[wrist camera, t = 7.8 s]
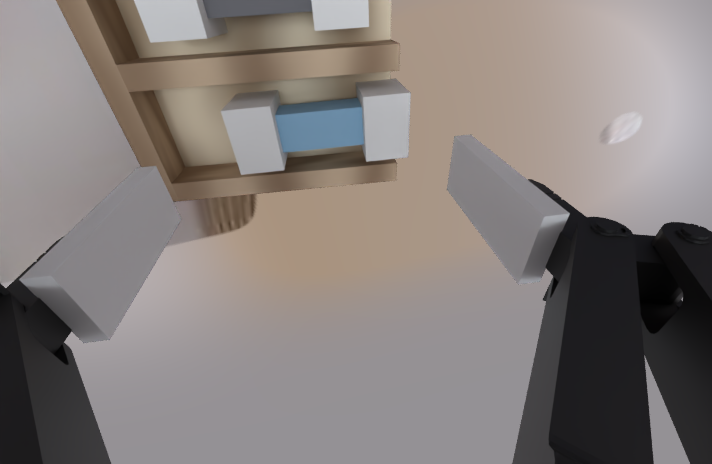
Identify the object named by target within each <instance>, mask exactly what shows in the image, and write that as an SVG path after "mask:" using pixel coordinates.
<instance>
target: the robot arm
mask: <svg viewBox="0 0 712 464" xmlns="http://www.w3.org/2000/svg"><path fill="white" fill-rule="evenodd" d="M447 190H448V191H449V193H450V194H451V196H452V197H453V198H454V200H455V201H456V202H457V204H458V205H459V206H460V208H461V209H462V210H463V212H464V213H465V214H466V216H467V217H468V218H469V220H470V221H471V222H472V224H473V225H474V226H475V227H476V229H477V230H478V232H479V233H480V234H481V236H482V237H483V238H484V240H485V241H486V242H487V244H488V245H489V246H490V247H491V249H492V250H493V252H494V253H495V254H496V256H497V257H498V258H499V260H500V261H501V262H502V264H503V265H504V266H505V268H506V269H507V270H508V272H509V273H510V274H511V275H512V277H513V278H514V280H515V281H516V282H517V284H526V283H533V282H540V280H541V278H542V276H543V274H544V271H545V269H547V270H548V271H549V272H550V273H551V274H552V275H553V279H552V281H551V283H550V285H549V287H548V289H547V291H546V294H545V296H544V298H543V300H544V301H546V305H545V310H544V315H543V319H542V324H541V329H540V334H539V339H538V344H537V348H536V353H535V358H534V363H533V368H532V372H531V377H530V382H529V387H528V391H527V396H526V402H525V406H524V411H523V415H522V420H521V425H520V430H519V435H518V440H517V444H516V449H515V454H514V459H513V463H512V464H654V463H653V451H652V439H651V428H650V416H649V405H648V393H647V382H646V370H645V359H644V355H645V357H646V359H647V362H648V364H649V367H650V369H651V371H652V374H653V376H654V378H655V381H656V383H657V386H658V388H659V390H660V393H661V395H662V397H663V400H664V402H665V405H666V407H667V409H668V412H669V414H670V417H671V419H672V421H673V424H674V426H675V428H676V431H677V433H678V436H679V438H680V440H681V442H682V445H683V447H684V450H685V452H686V455H687V457H688V459H689V462H690V464H712V232H711V231H709V230H707V229H706V228H704V227H701V226H700V227H698V225H694V224H686V223H680V222H671V223H666V224H664V225H663V226H662V227H661V229H660V230H659V232H658V233H657V235H656V236H648V235H636V234H632V232H631V230H629V229H628V228H627V227H626V226H624V225H622V224H620V223H618V222H616V221H613V220H609V219H606V218H600V217H586V216H584V215H583V214H582V213H580V212H579V211H578V210H576V209H575V208H574V207H572V206H571V205H570V204H568V203H567V202H566V201H565V200H561V197H559V196H558V195H557V194H554V193H553V191H551V190H550V189H549V188H547V187H546V186H545V185H543V184H541V183H539V182H536V181H534V180H531V179H528V180H527V179H526V178H525V177H523V176H522V175H521V174H520V173H518V172H517V171H516V170H515V169H513V168H512V167H511V166H510V165H508V164H507V163H506V162H505V161H503V160H502V159H501V158H500V157H498V156H497V155H496V154H494V153H493V152H492V151H491V150H490V149H488V148H487V147H486V146H484V145H483V144H482V143H481V142H479V141H478V140H477V139H476V138H474V137H473V136H472V135H461V136H455V137H454V143H453V150H452V157H451V164H450V172H449V178H448V186H447ZM180 221H181V217H180V215H179V213H178V211H177V208H176V206H175V204H174V202H173V200H172V198H171V196H170V194H169V192H168V190H167V188H166V186H165V184H164V181H163V179H162V177H161V175H160V173H159V171H158V169H157V167H156V166H150V167H139V168H136V169H135V170H134V171H133V172H132V173H131V174H130V175H129V176H128V177H127V178H126V179H125V180H124V181H123V182H122V183H121V184H120V185H118V186H117V187H116V188H115V189H114V190H113V191H112V192H111V193H110V194H109V195H108V196H107V197H106V198H105V199H104V200H103V201H102V202H100V203H99V204H98V205H97V206H96V207H95V208H94V209H93V210H92V211H91V212H90V213H89V214H88V215H87V216H86V217H85V218H84V219H82V220H81V221H80V222H79V223H78V224H77V225H76V226H75V227H74V228H73V229H72V230H71V231H70V232H69V233H68V234H67V235H66V236H64V237H62V238H61V239H59V240H58V241H56V242H55V243H54V244H53V245H52V246H51V247H50V248H49V249H48V250H47V251H46V253H43V254H42V255H41V256H40V257H39V258H38V259H37V262H34V263H33V264H32V265H31V266H30V267H28V268H27V269H26V270H25V271H24V272H23V273H22V274H21V275H20V276H19V277H18V278H17V279H16V280H15V281H13V282H12V283H11V284H10V285H9V286H8V287H7V288H5V287H4V286H2V285H1V284H0V464H111V462H110V459H109V456H108V453H107V450H106V447H105V445H104V442H103V439H102V436H101V433H100V430H99V428H98V424H97V422H96V419H95V416H94V413H93V410H92V407H91V405H90V402H89V399H88V396H87V393H86V390H85V387H84V384H83V382H82V379H81V376H80V373H79V370H78V367H77V365H76V362H75V359H74V356H73V353H72V350H71V349H70V348H69V347H68V346H67V345H66V344H65V343H64V341H65V340H66V338H67V337H68V335H69V334H70V333H71V331H72V332H73V333H74V334H75V335H76V336H77V337H78V338H79V339H80V340H81V341H82V342H83V343H88V342H96V341H103V340H110V338H111V337H112V335H113V333H114V332H115V330H116V328H117V327H118V325H119V323H120V322H121V320H122V318H123V316H124V315H125V313H126V312H127V310H128V308H129V307H130V305H131V303H132V302H133V300H134V298H135V297H136V295H137V293H138V292H139V290H140V288H141V286H142V285H143V283H144V281H145V280H146V278H147V276H148V275H149V273H150V271H151V270H152V268H153V266H154V265H155V263H156V261H157V260H158V258H159V256H160V255H161V253H162V251H163V250H164V248H165V246H166V245H167V243H168V241H169V240H170V238H171V236H172V234H173V233H174V231H175V229H176V228H177V226H178V224H179V223H180ZM682 297H683V302H682V300H681V299H682Z"/></svg>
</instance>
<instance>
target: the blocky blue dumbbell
mask: <svg viewBox="0 0 712 464" xmlns="http://www.w3.org/2000/svg"><path fill="white" fill-rule="evenodd" d="M356 95H357V98H351V99H341V100H331V101H321V102H310V103H300V104H290V105H281V102H280V97H279V92H278V90H269V91H258V92H248V93H237V94H236V95H235V96H234V97H233V98H232V99H231V101H230V102H229V103H228V104H227V105H226V106H225V107H224V108H223V109H222V110H221V114H222V117H223V120H224V123H225V126H226V129H227V133H228V136H229V139H230V142H231V145H232V148H233V151H234V154H235V157H236V161H237V164H238V167H239V170H240V173H241V175H244V174H254V173H264V172H273V171H283V170H284V169H285V165H286V160H287V155H288V152H295V151H305V150H315V149H325V148H334V147H344V146H354V145H361V146H362V149H363V152H364V156H365V159H366V162H368V161H378V160H387V159H397V158H406V157H408V150H409V123H410V122H409V121H410V96H411V93H410V92H409V91H408V90H407V89H406V88H405V87H404V86H403V85H402V84H401V83H400V82H399V81H398V80H397V79H385V80H374V81H364V82H356Z"/></svg>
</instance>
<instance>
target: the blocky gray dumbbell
mask: <svg viewBox="0 0 712 464" xmlns="http://www.w3.org/2000/svg"><path fill="white" fill-rule="evenodd" d="M134 2H135V4H136V7H137V9H138V12H139V15H140V17H141V20H142V22H143V25H144V27H145V30H146V33H147V35H148V38H149V40H150V43H153V42H167V41H180V40H194V39H208V38H211V37H215V36H218V35H222V34H225V33H228V30H227V26H226V22H225V18H224V17H238V16H253V15H267V14H282V13H296V12H311V11H313V20H314V29H315V31H320V30H334V29H347V28H361V27H369V6H368V0H134Z"/></svg>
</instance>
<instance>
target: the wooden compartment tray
mask: <svg viewBox="0 0 712 464" xmlns="http://www.w3.org/2000/svg"><path fill="white" fill-rule="evenodd" d="M56 1H57V3H58V5H59V7H60V9H61V11H62V13H63V15H64V17H65V19H66V21H67V23H68V25H69V27H70V29H71V31H72V33H73V35H74V37H75V39H76V40H77V42H78V44H79V46H80V48H81V50H82V52H83V54H84V56H85V58H86V60H87V62H88V64H89V66H90V68H91V70H92V72H93V74H94V76H95V78H96V80H97V81H98V83H99V85H100V87H101V89H102V91H103V93H104V95H105V97H106V99H107V101H108V103H109V105H110V107H111V109H112V111H113V113H114V115H115V117H116V119H117V121H118V123H119V124H120V126H121V128H122V130H123V132H124V134H125V136H126V138H127V140H128V142H129V144H130V146H131V148H132V150H133V152H134V154H135V156H136V158H137V160H138V162H139V164H140V166H141V167H150V166H156V167H157V169H158V171H159V173H160V175H161V177H162V179H163V181H164V184H165V186H166V188H167V190H168V192H169V194H170V196H171V198H172V200H173V202H176V201H186V200H197V199H207V198H218V197H228V196H239V195H249V194H259V193H270V192H280V191H291V190H301V189H311V188H322V187H332V186H342V185H353V184H363V183H374V182H385V181H395V180H396V174H397V173H396V172H397V163H396V160H395V159H387V160H378V161H368V162H366V159H365V156H364V152H363V149H362V146H361V145H354V146H344V147H334V148H325V149H315V150H305V151H295V152H288V155H287V160H286V165H285V169H284V170H283V171H273V172H264V173H254V174H244V175H241V173H240V170H239V167H238V164H237V161H236V157H235V154H234V151H233V148H232V145H231V142H230V139H229V136H228V133H227V129H226V126H225V123H224V120H223V117H222V114H221V110H222V109H223V108H224V107H225V106H226V105H227V104H228V103H229V102H230V101H231V99H232V98H233V97H234V96H235V95H236V94H237V93H248V92H258V91H269V90H278V92H279V97H280V102H281V105H290V104H300V103H310V102H321V101H331V100H341V99H351V98H357V95H356V82H364V81H374V80H385V79H390V73H391V71H399V64H400V63H399V62H400V44H399V43H397V42H395V41H393V40H391V0H368V6H369V27H361V28H347V29H334V30H320V31H315V29H314V20H313V11H311V12H296V13H282V14H267V15H253V16H238V17H224V18H225V22H226V26H227V30H228V33H225V34H222V35H218V36H215V37H211V38H208V39H194V40H180V41H167V42H153V43H150V40H149V38H148V35H147V33H146V30H145V27H144V25H143V22H142V20H141V17H140V15H139V12H138V9H137V7H136V4H135V2H134V0H56Z"/></svg>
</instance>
